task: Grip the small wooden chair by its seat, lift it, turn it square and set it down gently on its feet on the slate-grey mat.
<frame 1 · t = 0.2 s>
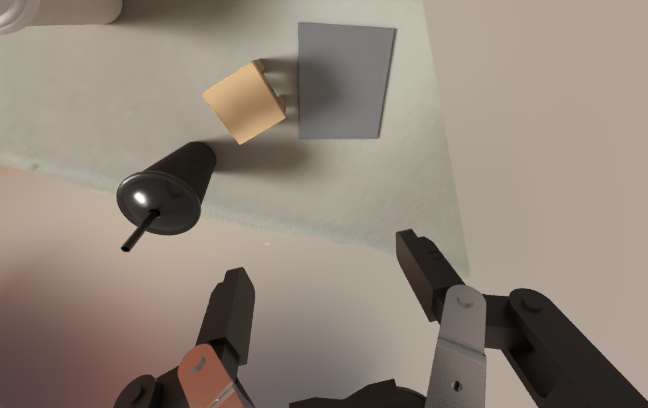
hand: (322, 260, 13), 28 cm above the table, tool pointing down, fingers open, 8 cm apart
wooden chair: (254, 93, 33), on the table
drinking cup: (199, 157, 37), on the table
mat: (342, 87, 34), on the table
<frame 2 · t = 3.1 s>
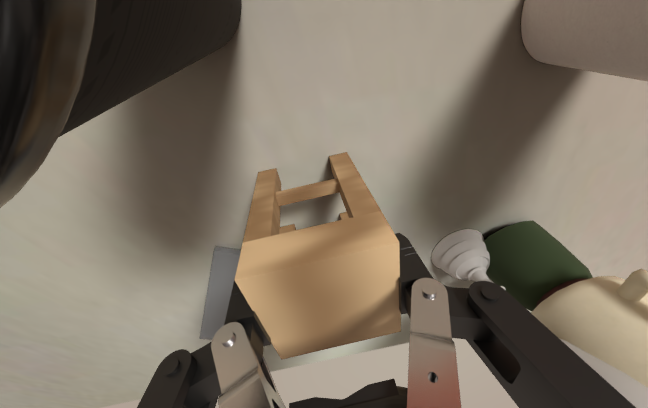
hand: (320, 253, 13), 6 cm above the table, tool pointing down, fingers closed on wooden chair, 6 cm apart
chalice: (456, 249, 23), on the table, touching character mug
wooden chair: (312, 199, 18), on the table, touching gripper
mat: (284, 303, 24), on the table
character mug: (501, 241, 23), on the table, touching chalice
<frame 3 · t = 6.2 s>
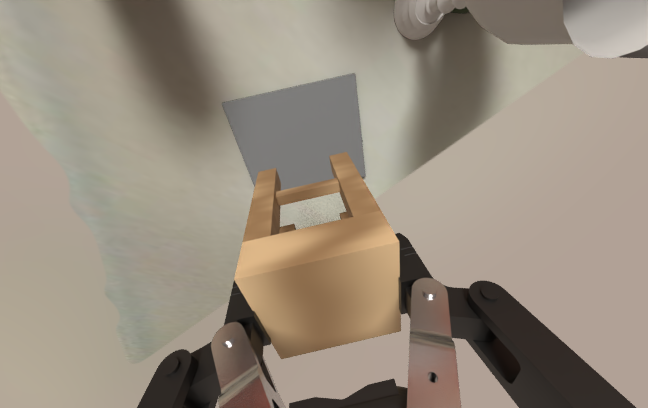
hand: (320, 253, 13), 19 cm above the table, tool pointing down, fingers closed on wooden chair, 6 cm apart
chalice: (418, 7, 23), on the table, touching character mug
wooden chair: (312, 199, 18), point 13 cm above the table, touching gripper
mat: (301, 142, 29), on the table
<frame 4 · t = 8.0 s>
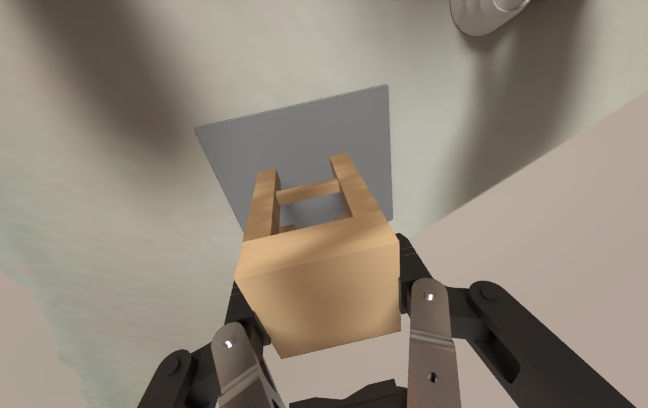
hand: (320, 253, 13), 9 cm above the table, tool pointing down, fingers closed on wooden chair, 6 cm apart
wooden chair: (312, 199, 18), point 4 cm above the table, touching gripper
mat: (309, 178, 21), on the table
when the fingers open (8 cm above the table, at t = 9.5 s): wooden chair drops 1 cm, resting on mat.
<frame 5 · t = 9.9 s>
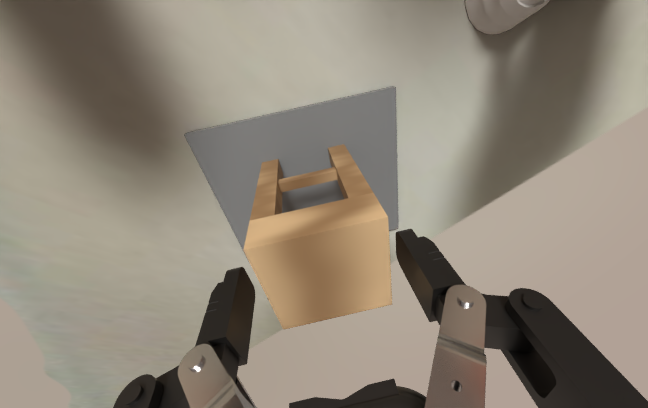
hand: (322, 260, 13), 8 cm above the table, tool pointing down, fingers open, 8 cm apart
wooden chair: (311, 189, 19), resting on mat
mat: (309, 186, 19), on the table
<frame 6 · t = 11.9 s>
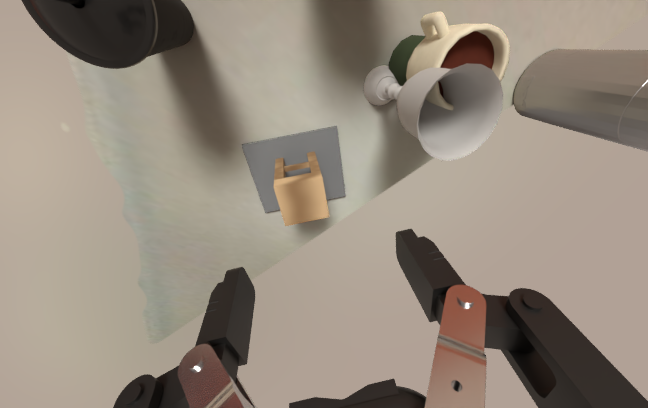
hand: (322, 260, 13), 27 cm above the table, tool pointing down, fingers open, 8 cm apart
chalice: (380, 86, 34), on the table, touching character mug
wooden chair: (299, 172, 39), resting on mat
drinking cup: (170, 20, 27), on the table
mat: (298, 171, 39), on the table
character mug: (408, 63, 33), on the table, touching chalice
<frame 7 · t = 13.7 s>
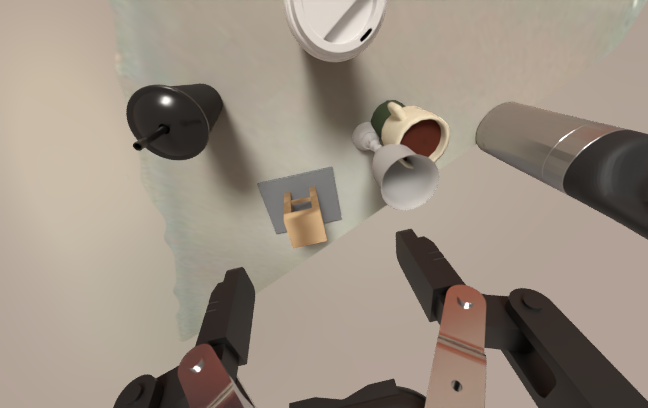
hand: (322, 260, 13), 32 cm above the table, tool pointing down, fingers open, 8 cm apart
chalice: (366, 136, 43), on the table, touching character mug
wooden chair: (303, 202, 48), resting on mat
drinking cup: (205, 101, 37), on the table
coffee cup: (319, 16, 33), on the table
mat: (302, 201, 48), on the table
character mug: (387, 118, 42), on the table, touching chalice
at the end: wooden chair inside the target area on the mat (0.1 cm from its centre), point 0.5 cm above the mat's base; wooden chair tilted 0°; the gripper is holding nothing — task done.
